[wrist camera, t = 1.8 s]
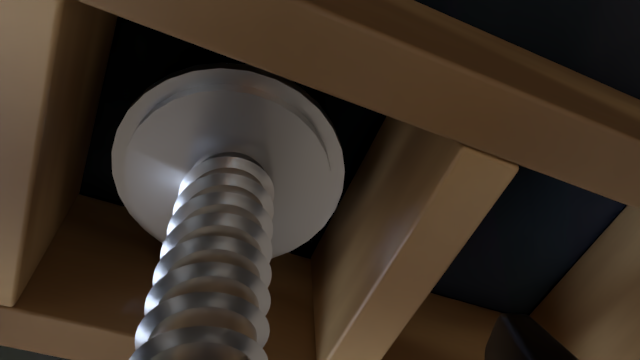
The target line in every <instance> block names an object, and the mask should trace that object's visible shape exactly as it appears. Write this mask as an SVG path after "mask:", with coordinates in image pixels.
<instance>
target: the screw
mask: <svg viewBox="0 0 640 360" xmlns="http://www.w3.org/2000/svg"><path fill="white" fill-rule="evenodd" d="M111 154H112V175H113V178H114V181H115V185H116V188H117V191H118V195H119V196H120V198H121V200H122V202H123V203H124V205H125V207H126V208H127V210H128V212H129V214H130V215H131V216H132V217H133V218H134V219H135V220H136V221H137V222H138V223H139V225H140V226H141V227H142V228H143V229H144V230H145V231H146V232H148V233H149V234H150V235H152V236H153V237H154V238H156V239H157V240H158V241H160V242H161V243H163V245H162V248H161V253H160V261H159V262H158V264H157V266H156V268H155V271H154V275H153V287H152V288H151V290H150V291H149V293H148V296H147V298H146V301H145V306H144V315H145V317H144V318H143V319H142V321H141V322H140V324H139V326H138V328H137V331H136V334H135V350H136V351H135V352H134V353H133V354H132V356H131V357H130V358H129V360H268V357H267V355H266V353H265V351H264V349H263V347H264V345H265V344H266V342H267V340H268V338H269V333H270V328H269V323H268V320H267V318H266V317H265V316H266V315H267V313H268V311H269V309H270V304H271V297H270V293H269V290H268V286H269V285H270V282H271V277H272V272H271V267H270V264H269V263H270V261H271V259H272V258H274V257H277V256H280V255H282V254H285V253H288V252H290V251H292V250H294V249H296V248H297V247H299V246H301V245H302V244H304V243H306V242H307V241H309V240H310V239H311V238H312V237H313V236H314V235H315V234H316V233H317V232H319V231H320V230H321V229H322V228H323V227H324V226H325V224H326V223H327V221H328V220H329V218H330V217H331V216H332V214H333V213H334V211H335V210H336V207H337V204H338V202H339V199H340V197H341V194H342V191H343V183H344V174H345V168H344V161H343V154H342V147H341V142H340V140H339V137H338V135H337V132H336V130H335V128H334V125H333V123H332V121H331V120H330V118H329V117H328V116H327V114H326V113H325V111H324V110H323V109H322V107H321V106H320V104H319V103H318V102H317V101H316V100H315V99H313V98H312V97H311V96H310V95H309V94H308V93H307V92H305V91H304V90H303V89H302V88H301V87H300V86H298V85H296V84H294V83H293V82H291V81H289V80H287V79H285V78H284V77H281V76H278V75H276V74H273V73H270V72H268V71H265V70H262V69H259V68H257V67H254V66H251V65H244V64H234V63H224V62H221V63H211V64H202V65H194V66H191V67H188V68H185V69H182V70H179V71H176V72H173V73H170V74H168V75H167V76H165V77H163V78H162V79H160V80H159V81H157V82H155V83H154V84H152V85H150V86H149V87H148V88H147V89H146V90H145V91H144V92H143V93H142V94H141V95H140V96H139V97H138V98H137V99H136V100H135V101H134V102H133V103H132V104H131V106H130V108H129V109H128V111H127V113H126V115H125V117H124V118H123V120H122V122H121V124H120V125H119V127H118V129H117V131H116V135H115V139H114V144H113V148H112V152H111Z"/></svg>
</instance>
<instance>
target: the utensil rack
mask: <svg viewBox="0 0 640 360" xmlns="http://www.w3.org/2000/svg"><path fill="white" fill-rule="evenodd" d="M118 16H119V17H122V18H125V19H127V20H130V21H133V22H136V23H138V24H141V25H144V26H146V27H149V28H152V29H154V30H157V31H160V32H163V33H165V34H168V35H171V36H173V37H176V38H179V39H181V40H184V41H187V42H189V43H192V44H195V45H198V46H200V47H203V48H206V49H208V50H211V51H214V52H216V53H219V54H222V55H224V56H227V57H230V58H233V59H235V60H238V61H241V62H243V63H246V64H249V65H251V66H254V67H257V68H259V69H262V70H265V71H268V72H270V73H273V74H276V75H278V76H281V77H284V78H286V79H289V80H292V81H294V82H297V83H300V84H303V85H305V86H308V87H311V88H313V89H316V90H319V91H321V92H324V93H327V94H329V95H332V96H335V97H338V98H340V99H343V100H346V101H348V102H351V103H354V104H356V105H359V106H362V107H365V108H367V109H370V110H373V111H375V112H378V113H381V114H383V115H386V118H385V120H384V122H383V124H382V126H381V127H380V129H379V131H378V133H377V135H376V137H375V139H374V140H373V142H372V144H371V146H370V148H369V150H368V152H367V153H366V155H365V157H364V159H363V161H362V163H361V165H360V167H359V168H358V170H357V172H356V174H355V176H354V178H353V180H352V181H351V183H350V185H349V187H348V189H347V191H346V193H345V194H344V196H343V198H342V200H341V202H340V204H339V206H338V208H337V209H336V211H335V213H334V215H333V217H332V219H331V221H330V222H329V224H328V226H327V228H326V230H325V232H324V234H323V235H322V237H321V239H320V241H319V243H318V245H317V247H316V249H315V250H314V252H313V254H312V256H311V259H308V258H305V257H301V256H298V255H294V254H291V253H285V254H282V255H280V256H277V257H274V258H272V259H271V261H270V263H269V264H270V267H271V272H272V277H271V282H270V285H269V286H268V290H269V293H270V297H271V304H270V309H269V311H268V313H267V315H266V316H265V317H266V318H267V320H268V323H269V328H270V333H269V338H268V340H267V342H266V344H265V345H264V347H263V349H264V351H265V353H266V355H267V357H268V360H485V348H486V345H487V342H488V340H489V337H490V335H491V332H492V330H493V327H494V325H495V323H496V320H497V318H498V317H499V316H500V315H501V314H503V313H500V312H497V311H493V310H490V309H486V308H483V307H479V306H476V305H472V304H468V303H465V302H461V301H458V300H454V299H451V298H447V297H444V296H440V295H436V294H433V293H430V292H431V291H432V289H433V288H434V286H435V285H436V284H437V282H438V281H439V280H440V278H441V277H442V275H443V274H444V273H445V271H446V270H447V268H448V267H449V266H450V264H451V263H452V262H453V260H454V259H455V257H456V256H457V255H458V253H459V252H460V251H461V249H462V248H463V246H464V245H465V244H466V242H467V241H468V240H469V238H470V237H471V235H472V234H473V233H474V231H475V230H476V229H477V227H478V226H479V224H480V223H481V222H482V220H483V219H484V217H485V216H486V215H487V213H488V212H489V211H490V209H491V208H492V206H493V205H494V204H495V202H496V201H497V200H498V198H499V197H500V195H501V194H502V193H503V191H504V190H505V189H506V187H507V186H508V184H509V183H510V182H511V180H512V179H513V178H514V176H515V175H516V173H517V172H518V170H519V166H518V165H521V166H523V167H526V168H529V169H531V170H534V171H537V172H540V173H542V174H545V175H548V176H550V177H553V178H556V179H558V180H561V181H564V182H567V183H569V184H572V185H575V186H577V187H580V188H583V189H585V190H588V191H591V192H593V193H596V194H599V195H602V196H604V197H607V198H610V199H612V200H615V201H618V202H620V203H623V204H626V205H627V206H626V207H625V208H624V209H623V211H622V212H621V213H620V214H619V215H618V216H617V217H616V218H615V220H614V221H613V222H612V223H611V224H610V225H609V226H608V227H607V229H606V230H605V231H604V232H603V233H602V234H601V235H600V236H599V238H598V239H597V240H596V241H595V242H594V243H593V244H592V245H591V247H590V248H589V249H588V250H587V251H586V252H585V253H584V254H583V256H582V257H581V258H580V259H579V260H578V261H577V262H576V263H575V265H574V266H573V267H572V268H571V269H570V270H569V271H568V272H567V274H566V275H565V276H564V277H563V278H562V279H561V280H560V281H559V283H558V284H557V285H556V286H555V287H554V288H553V289H552V290H551V292H550V293H549V294H548V295H547V296H546V297H545V298H544V299H543V301H542V302H541V303H540V304H539V305H538V306H537V307H536V308H535V310H534V311H533V312H532V313H531V314H530V315H529V316H530V317H531V318H533V319H534V320H535V321H536V322H537V323H538V324H539V325H541V326H542V327H543V328H544V329H545V330H546V331H547V332H548V333H550V334H551V335H552V336H553V337H554V338H555V339H556V340H558V341H559V342H560V343H561V344H562V345H563V346H564V347H565V348H567V349H568V350H569V351H570V352H571V353H572V354H573V355H574V356H576V357H577V358H578V359H579V360H640V100H639V99H636V98H634V97H632V96H630V95H627V94H625V93H623V92H621V91H618V90H616V89H614V88H612V87H609V86H607V85H605V84H602V83H600V82H598V81H596V80H593V79H591V78H589V77H587V76H584V75H582V74H580V73H577V72H575V71H573V70H571V69H568V68H566V67H564V66H562V65H559V64H557V63H555V62H553V61H550V60H548V59H546V58H543V57H541V56H539V55H537V54H534V53H532V52H530V51H528V50H525V49H523V48H521V47H519V46H516V45H514V44H512V43H509V42H507V41H505V40H503V39H500V38H498V37H496V36H494V35H491V34H489V33H487V32H485V31H482V30H480V29H478V28H475V27H473V26H471V25H469V24H466V23H464V22H462V21H460V20H457V19H455V18H453V17H450V16H448V15H446V14H444V13H441V12H439V11H437V10H435V9H432V8H430V7H428V6H426V5H423V4H421V3H419V2H416V1H414V0H0V345H1V346H6V347H11V348H16V349H21V350H26V351H31V352H36V353H41V354H46V355H51V356H55V357H60V358H65V359H70V360H129V358H130V357H131V356H132V354H133V353H134V352H135V351H136V350H135V334H136V331H137V328H138V326H139V324H140V322H141V321H142V319H143V318H144V317H145V315H144V306H145V301H146V298H147V296H148V293H149V291H150V290H151V288H152V287H153V275H154V271H155V268H156V266H157V264H158V262H159V261H160V253H161V248H162V245H163V243H161V242H160V241H158V240H157V239H156V238H154V237H153V236H152V235H150V234H149V233H148V232H146V231H145V230H144V229H143V228H142V227H141V226H140V225H139V223H138V222H137V221H136V220H135V219H134V218H133V217H132V216H131V215H130V214H129V212H128V210H127V208H126V207H124V206H120V205H116V204H113V203H109V202H106V201H102V200H99V199H95V198H92V197H88V196H84V195H81V194H79V193H80V188H81V184H82V179H83V174H84V170H85V165H86V161H87V156H88V151H89V147H90V142H91V137H92V133H93V128H94V124H95V119H96V114H97V110H98V105H99V101H100V96H101V91H102V87H103V82H104V78H105V73H106V68H107V64H108V59H109V54H110V50H111V45H112V41H113V36H114V31H115V27H116V22H117V18H118ZM517 164H518V165H517Z"/></svg>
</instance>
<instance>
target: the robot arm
mask: <svg viewBox="0 0 640 360" xmlns="http://www.w3.org/2000/svg"><path fill="white" fill-rule="evenodd" d="M485 360H579V359H578V358H577V357H576V356H574V355H573V354H572V353H571V352H570V351H569V350H568V349H567V348H565V347H564V346H563V345H562V344H561V343H560V342H559V341H558V340H556V339H555V338H554V337H553V336H552V335H551V334H550V333H548V332H547V331H546V330H545V329H544V328H543V327H542V326H541V325H539V324H538V323H537V322H536V321H535V320H534V319H533V318H531V317H530V316H528V315H526V314H519V313H503V314H501V315H500V316H499V317H498V318H497V320H496V323H495V325H494V327H493V330H492V332H491V335H490V337H489V340H488V342H487V345H486V348H485Z"/></svg>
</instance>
